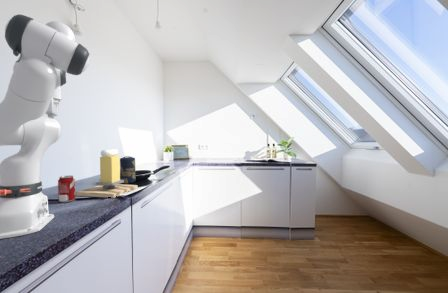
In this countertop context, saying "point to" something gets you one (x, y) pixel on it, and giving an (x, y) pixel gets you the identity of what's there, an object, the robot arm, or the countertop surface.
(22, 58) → the robot arm
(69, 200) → the soda can
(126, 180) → the canister
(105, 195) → the wooden slatted trivet
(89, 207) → the countertop surface
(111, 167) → the yellow boxy piece
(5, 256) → the countertop surface
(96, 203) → the countertop surface
